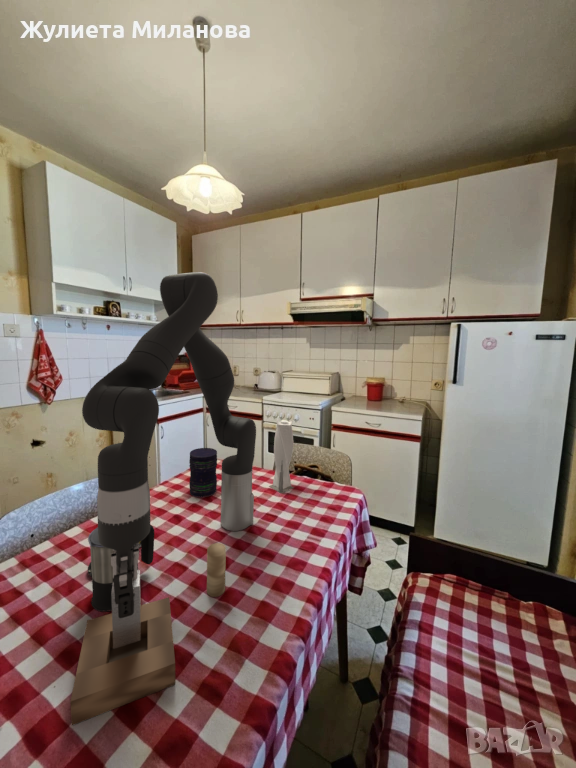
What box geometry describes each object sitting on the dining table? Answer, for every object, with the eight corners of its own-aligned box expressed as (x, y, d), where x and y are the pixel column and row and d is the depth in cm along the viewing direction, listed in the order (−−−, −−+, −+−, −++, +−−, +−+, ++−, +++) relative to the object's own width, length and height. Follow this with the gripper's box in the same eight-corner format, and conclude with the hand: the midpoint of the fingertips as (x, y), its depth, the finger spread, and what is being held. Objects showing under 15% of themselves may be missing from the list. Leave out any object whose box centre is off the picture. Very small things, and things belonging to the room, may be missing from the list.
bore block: (169, 614, 63) (169, 597, 62) (175, 684, 50) (175, 663, 50) (88, 639, 57) (87, 620, 56) (71, 725, 44) (70, 701, 44)
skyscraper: (266, 485, 122) (268, 416, 118) (281, 480, 127) (284, 413, 124) (280, 493, 116) (283, 421, 112) (296, 487, 121) (299, 418, 118)
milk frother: (119, 617, 62) (117, 549, 60) (52, 602, 65) (48, 536, 63) (160, 567, 76) (160, 510, 74) (104, 557, 79) (102, 502, 77)
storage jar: (213, 498, 110) (213, 457, 108) (185, 496, 110) (185, 456, 108) (219, 485, 120) (220, 448, 118) (194, 484, 120) (194, 447, 118)
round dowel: (222, 581, 72) (223, 541, 71) (226, 593, 69) (227, 552, 67) (205, 585, 71) (205, 545, 69) (208, 599, 67) (209, 556, 66)
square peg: (140, 620, 56) (139, 569, 54) (140, 640, 52) (139, 586, 51) (115, 628, 54) (113, 575, 53) (113, 648, 50) (111, 593, 49)
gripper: (150, 528, 45) (152, 632, 47) (149, 486, 58) (150, 569, 60) (90, 539, 42) (94, 650, 44) (103, 492, 55) (106, 580, 57)
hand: (127, 603), depth 52 cm, fingers closed on square peg, 4 cm apart
